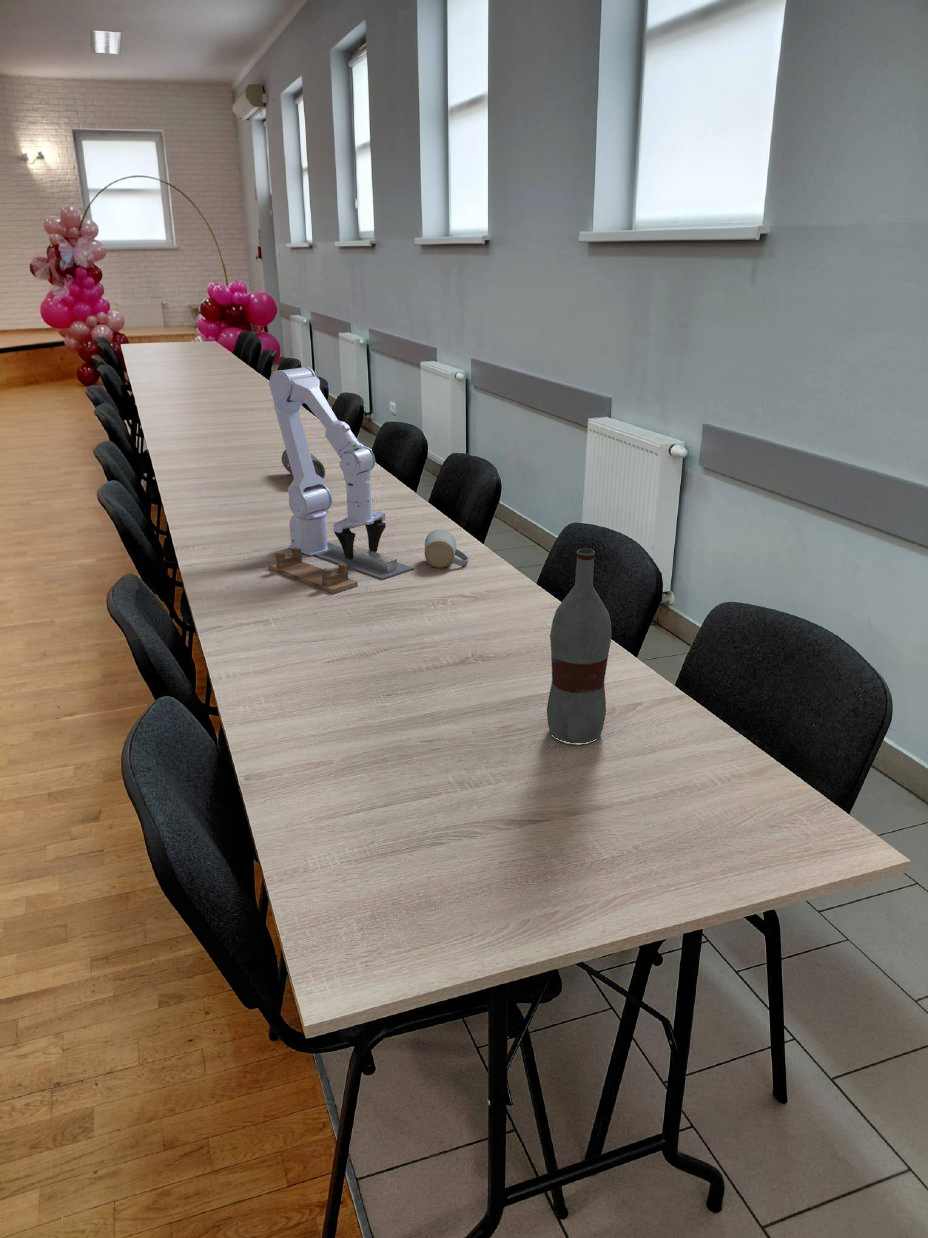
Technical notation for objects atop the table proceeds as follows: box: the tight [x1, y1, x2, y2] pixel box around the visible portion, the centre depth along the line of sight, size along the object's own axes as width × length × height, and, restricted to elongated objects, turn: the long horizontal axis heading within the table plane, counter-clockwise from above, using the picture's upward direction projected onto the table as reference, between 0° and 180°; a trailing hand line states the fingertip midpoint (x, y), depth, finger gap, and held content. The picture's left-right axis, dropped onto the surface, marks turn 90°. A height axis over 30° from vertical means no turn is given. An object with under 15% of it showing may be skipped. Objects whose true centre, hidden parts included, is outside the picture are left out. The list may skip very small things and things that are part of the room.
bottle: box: [546, 547, 613, 743], centre depth 135 cm, size 9×9×30 cm
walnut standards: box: [268, 547, 359, 595], centre depth 206 cm, size 24×7×4 cm, turn 47°
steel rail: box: [327, 539, 398, 572], centre depth 216 cm, size 22×3×2 cm, turn 47°
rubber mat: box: [312, 550, 415, 581], centre depth 218 cm, size 28×10×1 cm, turn 47°
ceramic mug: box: [423, 528, 470, 569], centre depth 215 cm, size 11×8×8 cm
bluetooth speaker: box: [281, 448, 326, 480], centre depth 289 cm, size 23×9×10 cm, turn 25°
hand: (361, 554), depth 216 cm, fingers open, 7 cm apart
